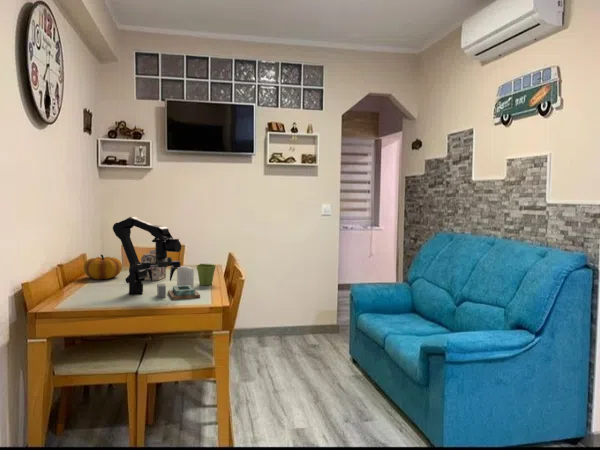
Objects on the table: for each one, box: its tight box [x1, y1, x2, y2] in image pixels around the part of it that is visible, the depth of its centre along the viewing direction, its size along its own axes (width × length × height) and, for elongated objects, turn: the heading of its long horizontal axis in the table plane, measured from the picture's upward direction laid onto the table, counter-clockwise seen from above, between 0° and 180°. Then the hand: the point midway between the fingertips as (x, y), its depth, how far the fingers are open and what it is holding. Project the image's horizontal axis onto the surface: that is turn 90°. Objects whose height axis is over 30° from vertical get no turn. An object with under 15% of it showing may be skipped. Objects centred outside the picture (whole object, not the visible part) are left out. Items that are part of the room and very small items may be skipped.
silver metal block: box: [156, 283, 167, 299], centre depth 233 cm, size 4×7×6 cm, turn 23°
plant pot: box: [195, 263, 217, 286], centre depth 266 cm, size 12×12×11 cm
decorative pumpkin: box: [82, 254, 123, 281], centre depth 281 cm, size 20×22×15 cm
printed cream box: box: [176, 265, 195, 288], centre depth 256 cm, size 10×4×12 cm, turn 60°
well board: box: [167, 285, 201, 301], centre depth 236 cm, size 14×16×4 cm
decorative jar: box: [140, 249, 167, 281], centre depth 281 cm, size 12×12×18 cm
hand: (161, 281), depth 233 cm, fingers open, 9 cm apart
